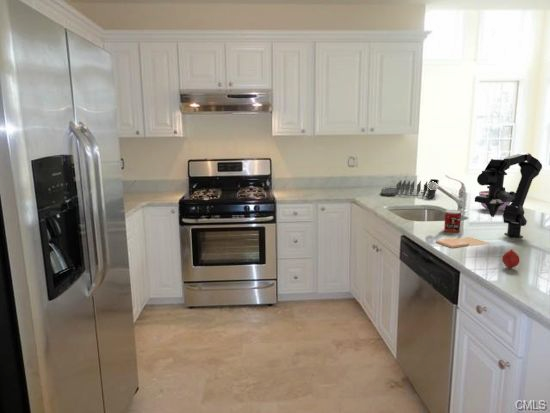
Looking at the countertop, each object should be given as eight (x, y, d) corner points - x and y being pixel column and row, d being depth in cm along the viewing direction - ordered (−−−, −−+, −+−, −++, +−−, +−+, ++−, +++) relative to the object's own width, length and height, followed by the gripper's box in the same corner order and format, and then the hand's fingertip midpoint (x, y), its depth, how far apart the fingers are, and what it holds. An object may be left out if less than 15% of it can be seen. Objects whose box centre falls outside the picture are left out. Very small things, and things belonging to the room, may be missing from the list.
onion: (499, 265, 156) (501, 246, 155) (515, 266, 155) (518, 247, 153) (503, 270, 151) (505, 250, 149) (520, 271, 149) (522, 251, 148)
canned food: (444, 232, 207) (445, 212, 205) (443, 229, 214) (445, 209, 212) (460, 233, 204) (461, 213, 202) (459, 230, 211) (460, 210, 209)
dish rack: (436, 199, 303) (437, 184, 300) (378, 196, 321) (378, 182, 319) (438, 193, 333) (439, 179, 330) (385, 190, 351) (386, 177, 349)
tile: (452, 238, 191) (436, 240, 187) (468, 243, 182) (452, 245, 178) (452, 241, 191) (435, 244, 188) (468, 247, 182) (451, 250, 179)
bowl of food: (474, 206, 273) (475, 190, 271) (506, 207, 267) (508, 191, 265) (481, 212, 254) (482, 195, 252) (515, 213, 249) (517, 195, 246)
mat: (470, 237, 196) (470, 236, 196) (490, 244, 185) (490, 243, 185) (451, 240, 192) (451, 239, 192) (470, 246, 181) (470, 246, 181)
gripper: (494, 187, 176) (490, 221, 178) (526, 186, 181) (522, 219, 184) (475, 184, 186) (472, 216, 189) (505, 183, 192) (502, 214, 194)
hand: (492, 216), depth 189 cm, fingers closed
